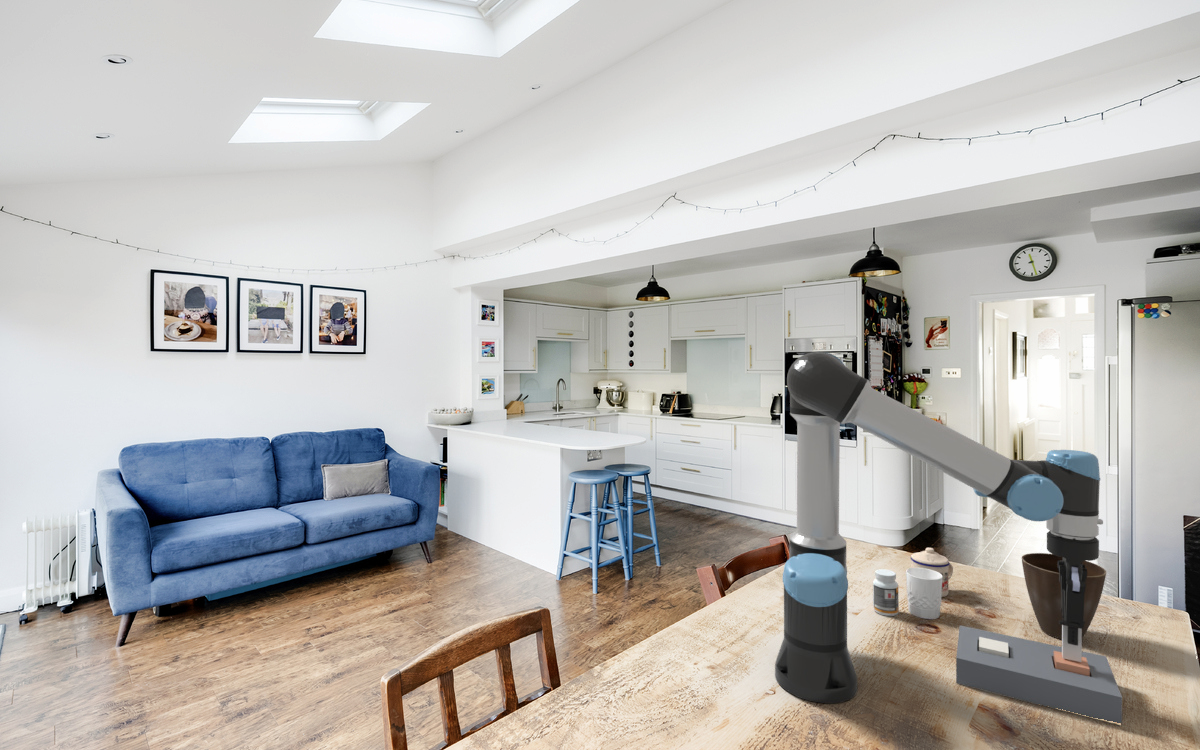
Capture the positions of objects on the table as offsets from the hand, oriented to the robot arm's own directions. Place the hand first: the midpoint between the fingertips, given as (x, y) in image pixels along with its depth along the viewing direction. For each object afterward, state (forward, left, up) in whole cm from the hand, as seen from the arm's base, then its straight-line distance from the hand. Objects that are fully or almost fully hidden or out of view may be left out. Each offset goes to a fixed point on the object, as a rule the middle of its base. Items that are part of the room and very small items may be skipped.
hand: (1071, 658), depth 107 cm
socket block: (0, +6, -7) cm, 9 cm away
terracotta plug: (0, 0, -6) cm, 6 cm away
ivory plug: (0, +12, -7) cm, 14 cm away
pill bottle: (+19, +34, -7) cm, 40 cm away
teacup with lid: (+40, +25, -7) cm, 48 cm away
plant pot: (+28, -1, -7) cm, 29 cm away
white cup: (+23, +26, -7) cm, 35 cm away
